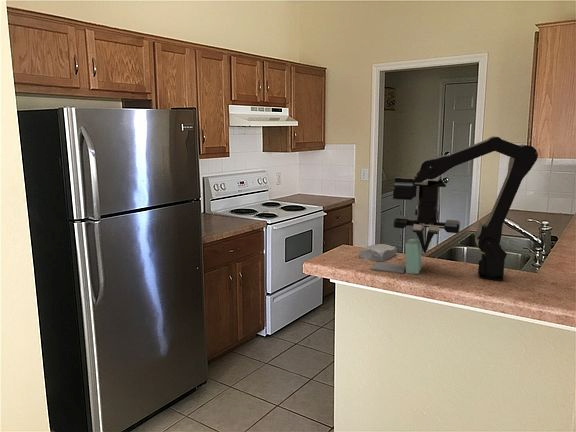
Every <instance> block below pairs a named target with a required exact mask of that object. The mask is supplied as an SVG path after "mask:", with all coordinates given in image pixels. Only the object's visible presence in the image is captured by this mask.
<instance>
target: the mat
mask: <svg viewBox="0 0 576 432" xmlns="http://www.w3.org/2000/svg"><path fill="white" fill-rule="evenodd" d="M370 270H371V271H378V272H386V273H393V274H394V273H396V274H404V273H406V264H401V263H400V264H398V263H391V262H378V261H375V263H374V264H373V265H372V266H371V268H370Z"/></svg>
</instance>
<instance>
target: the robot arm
mask: <svg viewBox="0 0 576 432" xmlns="http://www.w3.org/2000/svg"><path fill="white" fill-rule="evenodd" d="M493 152H496V153H499V154H501V155H503V156H504V155H505V157H506V156H507V157H509V159H508V164H507V165H508V166H507V172H506V176H505V179H504V181H503V183H502V186H501V188H500V191H499V193H498V195H497V198H496V200H495V203H494V205H493V207H492V208H491V212H490V214H489V216H488V218H487V220H486V221H485V222H484V223H482V222H479V223H478V226H477V230H476V231H475V232H474V234H473V235H474V236H475V243H476V245H477V248H478V249H479V251H481V252H483V253H482V254H481V257H480V258H479V259H478V267H477V269H478V270H477V271H478V272H477V274H478V275H479V279H486V280H487V279H488V280H495V281H504V279H505V278H504V276H505V275H504V272H505V261H506V257H507V256H508V253H507V252H506V250H505V249H504V248H503V246H502V245H500V244H501V240H502V234H503V226H504V223H505V220H506V218H507V216H508V213H509V211H510V209H511V207H512V204H513V202H514V199H515V198H516V195H517V193H518V190H519V188H520V187H521V183H522V181H523V180H524V178H525V177H526V176H527V175H528V173H529V172H530V171H531V169H532V168H533V167H534V165H535V164H536V162H537V161H538V158H539V153H538V151H537V149H536V148H535V147H534V146H531V145H529V144H528V145H527V144H515V143H512V142H509V141H507V140H505V139H502V138H501V137H499V136H490V137H489V138H487V139H485V140H482V141H479V142H477V143H474V144H472V145H469V146H467V147H464V148H462V149H459V150H457V151H454V152H452V153H449V154H444V155H439V156H433V157H428V158H425V159H424V160H423V161H421V163H420V166H419V167H420V168H419V170H418V171H417V173H416V174H414V176H413V177H401V176H395V178H394V187H393V189H392V190H393V192H392V200H393V201H395V200H397V201H413V199H414V198H417V199H418V200H417V204H416V206H415V212H414V215H415V216H416V219H411V216H406V215H398V216H397V217H396V218H395V219H394V220H393V228H394V229H395V228H396V229H405V228H406V227H407V226H409V227H412V228H413V229H412V232H413V233H416V236H417V238H418V239H419V240H420V243H421V250H422V252H423V253H427V252H428V249H429V248H430V247H429V246H430V243H431V242H432V239H433V237H435V235H439V232H440V231H441V229H443V230H444V232H446V233H448V234H449V233H450V234H459V232H460V230H461V222H460V220H457V219H456V220H455V219H454V220H453V219H446V221H445V222H444V221H443V222H442V221H439V193H440V188H446V186H447V183H445V182H444V181H443V179H442V178H441V177H440V176H441V175H443V174H445V173H446V172H448V171H450V170H451V169H453V168H454V167H456V166H459V165H462V164H464V163H467V162H469V161H472V160H475V159H477V158H480V157H482V156H485V155H487V154H490V153H493ZM438 177H439V179H437V178H438ZM435 179H437V180H435ZM426 180H427V182H425V183H424V181H426ZM417 187H418V197H417ZM426 228H428V230H427V231H426ZM426 232H427V233H426Z"/></svg>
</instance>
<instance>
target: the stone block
mask: <svg viewBox="0 0 576 432" xmlns="http://www.w3.org/2000/svg"><path fill="white" fill-rule="evenodd" d="M397 249H398V248H397V247H396V246H392V245H389V244H386V243H385V244H383V243H379V244H371V245H368V246H366V247H365V248H364V249H360V250H359V252H358V253H359V257H360V259H363V260H365V261H372V262H373V261H374V262H383V263H385V261H387V260H389V259H391V258H393V257H396V255H397V254H398V253H397Z"/></svg>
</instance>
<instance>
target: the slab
mask: <svg viewBox="0 0 576 432" xmlns="http://www.w3.org/2000/svg"><path fill="white" fill-rule="evenodd" d="M404 248H405V249H404V250H405V265H406V270H405V274H416V275H419V273H420V272H421V270H422V267H423V266H422V265H423V263H422V246H421V243H420V240H419V238H418V239H417V238H409V239H408V240H407V242H406V243H405V247H404Z"/></svg>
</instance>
